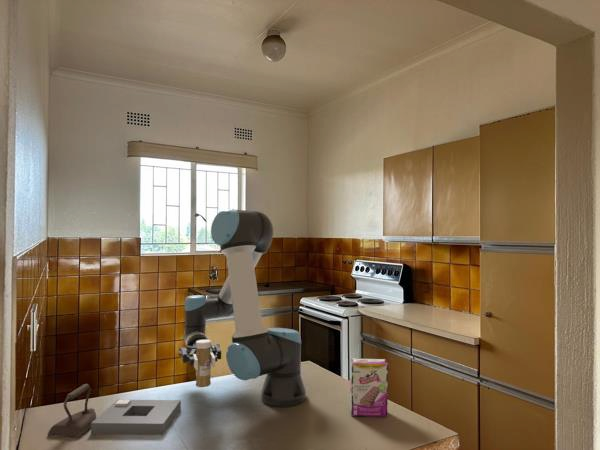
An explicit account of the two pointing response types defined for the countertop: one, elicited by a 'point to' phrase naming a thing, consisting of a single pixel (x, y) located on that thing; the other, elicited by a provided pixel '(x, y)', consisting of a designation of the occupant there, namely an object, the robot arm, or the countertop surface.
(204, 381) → the sprinkles bottle
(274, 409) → the countertop surface
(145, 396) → the countertop surface
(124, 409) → the socket plate
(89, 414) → the clothes iron
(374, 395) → the candy bar box
